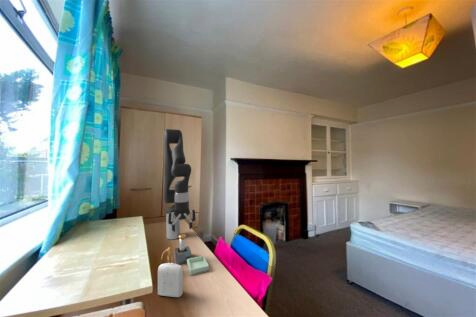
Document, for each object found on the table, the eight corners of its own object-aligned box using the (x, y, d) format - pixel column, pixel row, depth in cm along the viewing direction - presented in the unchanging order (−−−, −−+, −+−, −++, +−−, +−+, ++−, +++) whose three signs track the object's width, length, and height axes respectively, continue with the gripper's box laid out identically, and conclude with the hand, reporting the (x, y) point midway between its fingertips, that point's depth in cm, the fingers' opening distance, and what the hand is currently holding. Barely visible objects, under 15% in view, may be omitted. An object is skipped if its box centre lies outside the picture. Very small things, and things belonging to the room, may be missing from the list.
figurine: (162, 278, 91) (161, 252, 91) (160, 271, 97) (160, 247, 97) (180, 273, 95) (180, 248, 95) (178, 266, 101) (177, 243, 100)
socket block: (174, 257, 110) (174, 248, 110) (188, 254, 113) (188, 245, 113) (175, 264, 103) (175, 255, 103) (191, 261, 106) (191, 252, 106)
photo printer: (184, 291, 82) (184, 261, 82) (180, 298, 78) (179, 267, 78) (161, 289, 84) (161, 260, 84) (156, 296, 80) (155, 265, 79)
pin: (178, 258, 109) (178, 234, 109) (185, 256, 111) (185, 233, 110) (179, 261, 105) (178, 237, 105) (186, 260, 107) (186, 236, 107)
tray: (186, 263, 103) (186, 258, 103) (203, 260, 107) (203, 255, 107) (190, 275, 93) (190, 270, 93) (208, 270, 97) (208, 265, 97)
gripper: (193, 198, 114) (194, 226, 114) (167, 200, 108) (168, 229, 108) (196, 200, 107) (196, 230, 107) (168, 203, 102) (168, 234, 102)
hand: (182, 230), depth 108 cm, fingers open, 8 cm apart
